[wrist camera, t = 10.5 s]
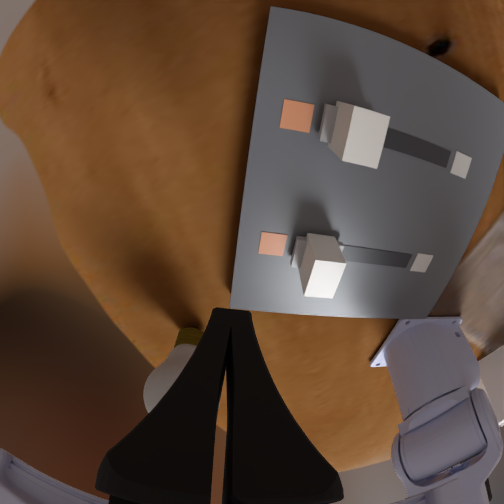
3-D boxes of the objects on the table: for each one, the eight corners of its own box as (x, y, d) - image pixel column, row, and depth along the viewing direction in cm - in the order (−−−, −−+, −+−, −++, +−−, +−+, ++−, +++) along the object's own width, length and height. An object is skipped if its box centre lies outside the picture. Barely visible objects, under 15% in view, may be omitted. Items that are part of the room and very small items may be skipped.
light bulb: (172, 298, 23) (142, 406, 14) (236, 322, 24) (230, 430, 16) (156, 335, 26) (132, 428, 17) (212, 355, 27) (201, 447, 19)
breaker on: (343, 237, 17) (356, 264, 15) (332, 270, 19) (341, 299, 16) (297, 231, 17) (304, 258, 15) (289, 266, 18) (293, 295, 16)
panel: (500, 105, 12) (513, 110, 11) (419, 307, 23) (425, 319, 22) (269, 12, 11) (270, 6, 10) (230, 294, 22) (229, 308, 21)
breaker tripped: (377, 112, 13) (401, 120, 10) (367, 155, 14) (387, 171, 12) (325, 98, 13) (341, 102, 10) (316, 144, 14) (329, 158, 12)
